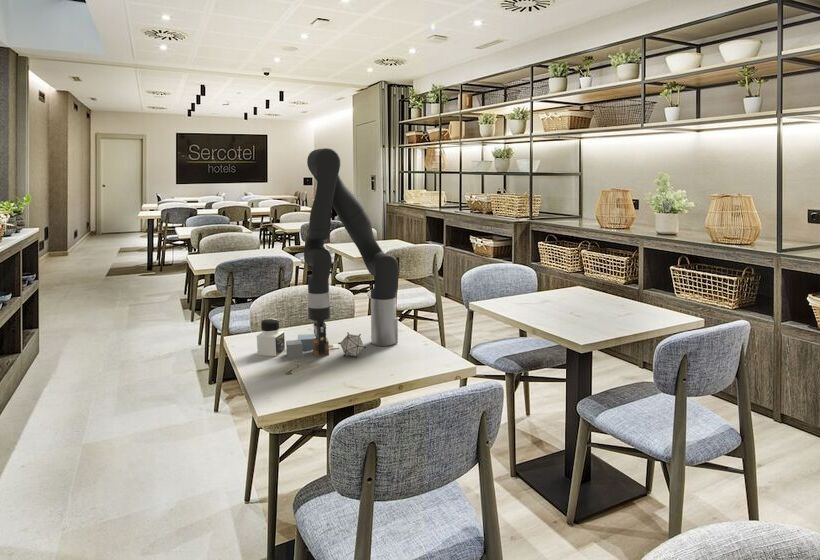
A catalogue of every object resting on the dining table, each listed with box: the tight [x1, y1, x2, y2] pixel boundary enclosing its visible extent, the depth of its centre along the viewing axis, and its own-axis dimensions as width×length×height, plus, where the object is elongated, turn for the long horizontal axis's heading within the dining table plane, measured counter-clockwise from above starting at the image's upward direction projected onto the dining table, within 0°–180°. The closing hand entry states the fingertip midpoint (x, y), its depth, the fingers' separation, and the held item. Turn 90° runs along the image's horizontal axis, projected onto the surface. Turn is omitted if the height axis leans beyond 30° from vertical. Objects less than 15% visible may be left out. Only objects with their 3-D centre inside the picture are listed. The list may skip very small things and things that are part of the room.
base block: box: [297, 333, 316, 351], centre depth 204 cm, size 6×6×4 cm
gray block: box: [285, 339, 304, 360], centre depth 194 cm, size 5×5×5 cm
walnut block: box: [312, 336, 330, 357], centre depth 197 cm, size 5×5×5 cm
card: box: [329, 343, 340, 350], centre depth 204 cm, size 6×4×1 cm
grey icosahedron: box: [337, 332, 367, 359], centre depth 193 cm, size 9×8×10 cm
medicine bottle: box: [256, 317, 286, 357], centre depth 197 cm, size 7×7×12 cm
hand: (320, 350), depth 197 cm, fingers open, 7 cm apart
